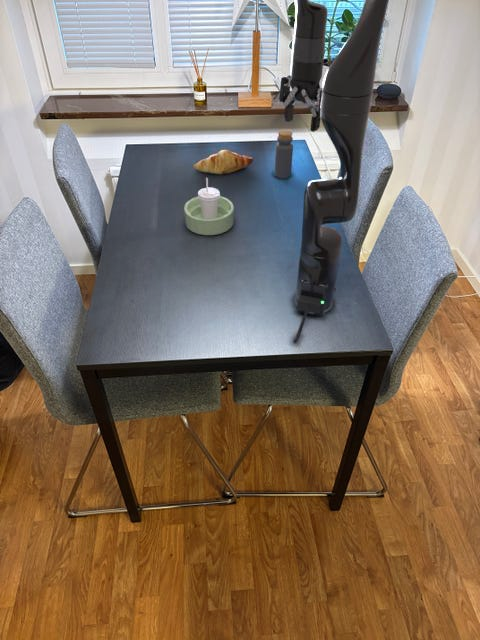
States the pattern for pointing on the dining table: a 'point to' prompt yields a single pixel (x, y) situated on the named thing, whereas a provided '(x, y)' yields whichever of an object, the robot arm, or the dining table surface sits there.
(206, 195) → the smoothie
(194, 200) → the bowl
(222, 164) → the croissant
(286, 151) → the bottle
